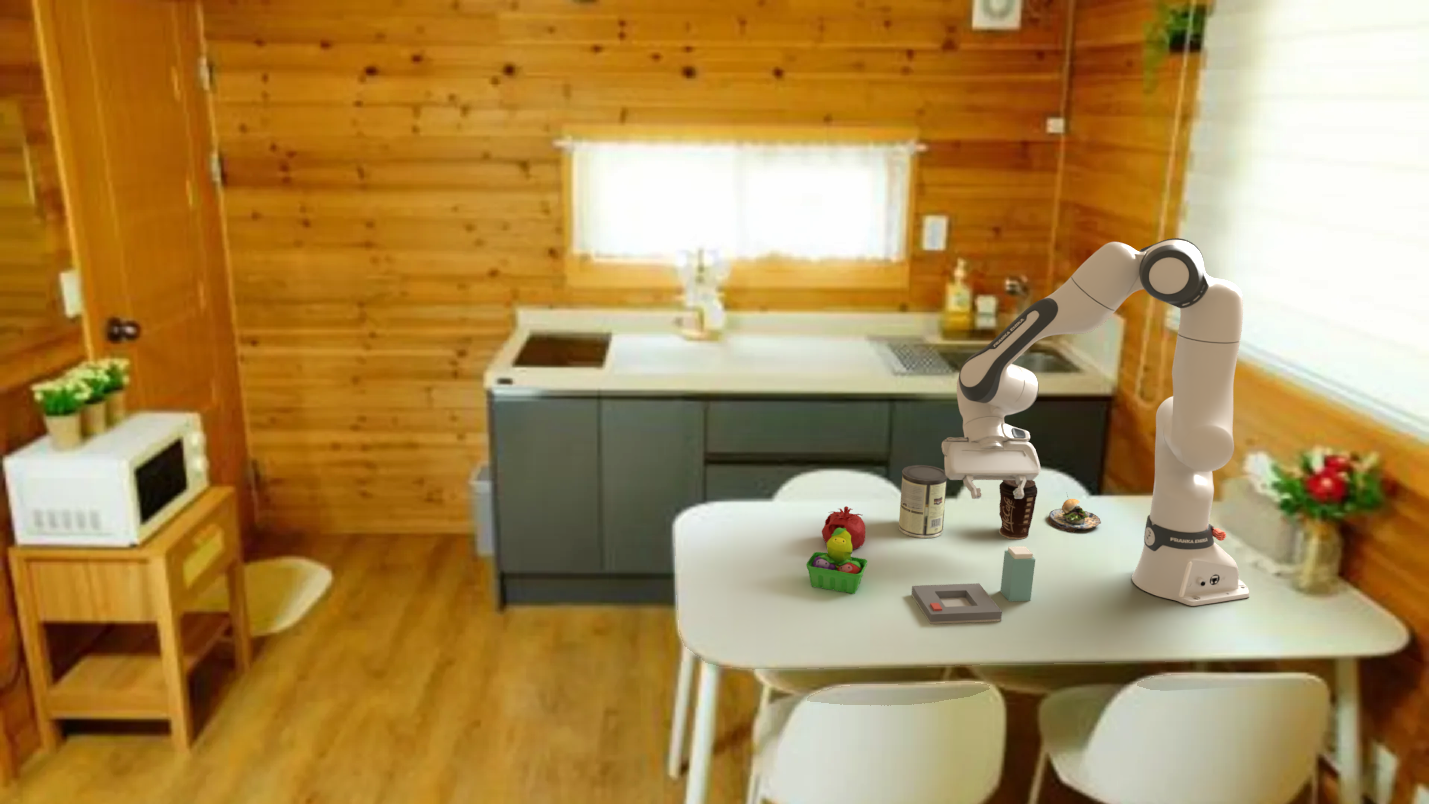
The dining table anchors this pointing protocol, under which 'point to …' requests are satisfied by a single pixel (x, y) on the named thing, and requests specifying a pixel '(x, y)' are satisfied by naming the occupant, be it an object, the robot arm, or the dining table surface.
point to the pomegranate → (845, 526)
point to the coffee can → (922, 501)
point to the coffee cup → (1016, 509)
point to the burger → (1072, 517)
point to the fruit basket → (837, 565)
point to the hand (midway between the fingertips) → (998, 497)
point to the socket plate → (956, 603)
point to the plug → (1017, 574)
